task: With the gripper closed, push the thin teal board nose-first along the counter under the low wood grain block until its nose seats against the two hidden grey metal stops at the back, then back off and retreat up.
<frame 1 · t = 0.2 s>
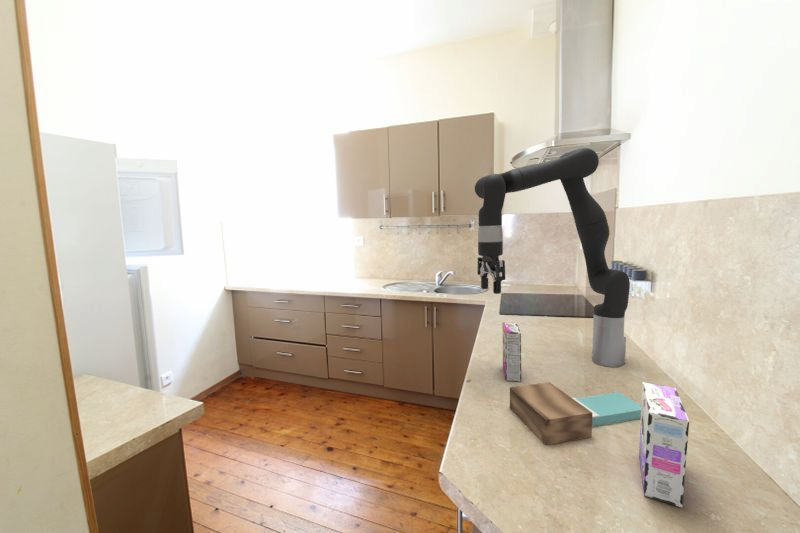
hand: (490, 291, 108), 29 cm above the countertop, fingers open, 8 cm apart
thin teal board: (605, 414, 89), on the countertop
candy bar box: (511, 374, 113), on the countertop
candy box: (658, 478, 66), on the countertop
wood grain block: (551, 420, 86), on the countertop
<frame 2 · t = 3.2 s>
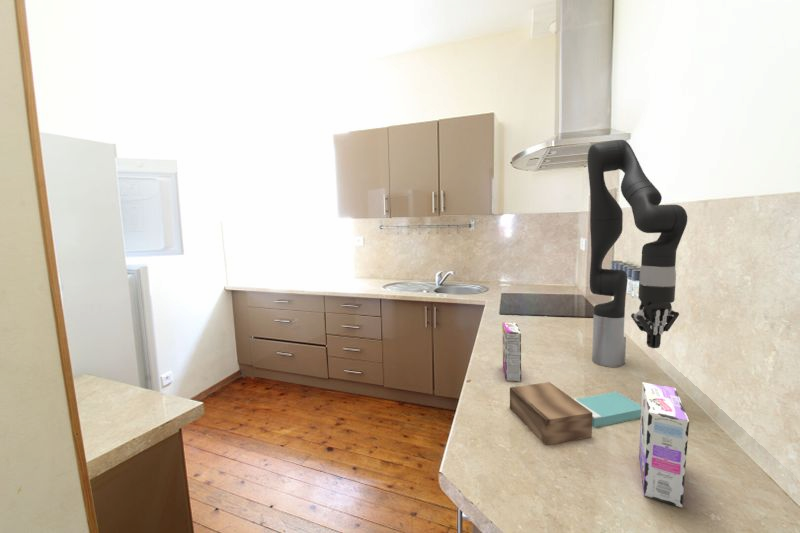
hand: (653, 347, 89), 16 cm above the countertop, fingers closed
nothing on the countertop moved.
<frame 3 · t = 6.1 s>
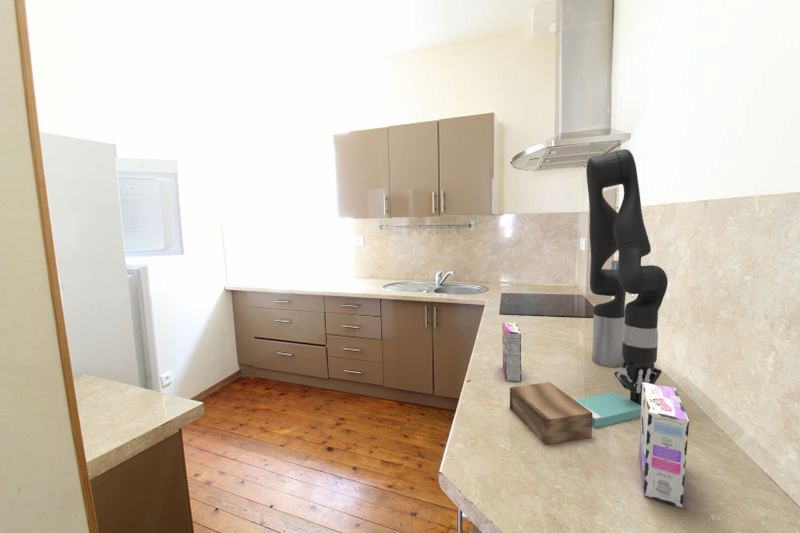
hand: (636, 404, 90), 1 cm above the countertop, fingers closed
thin teal board: (604, 414, 89), on the countertop, touching gripper
everything else where it was.
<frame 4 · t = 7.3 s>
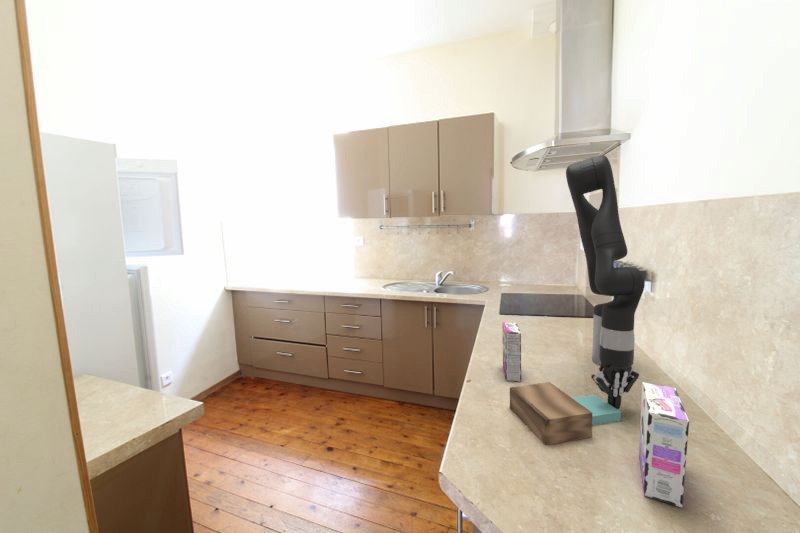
hand: (613, 407, 89), 1 cm above the countertop, fingers closed
thin teal board: (580, 416, 88), on the countertop, touching gripper
everything else where it was.
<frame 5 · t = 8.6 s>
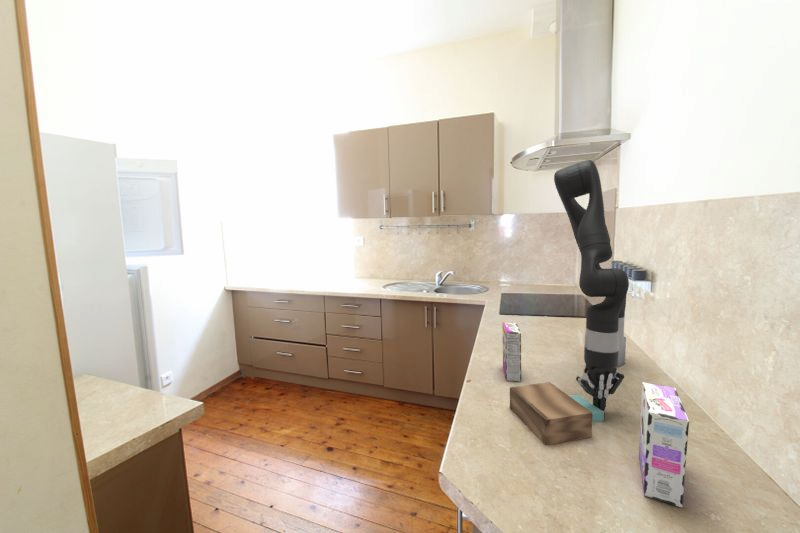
hand: (599, 409, 88), 1 cm above the countertop, fingers closed
thin teal board: (563, 417, 88), on the countertop, touching gripper
everything else where it was.
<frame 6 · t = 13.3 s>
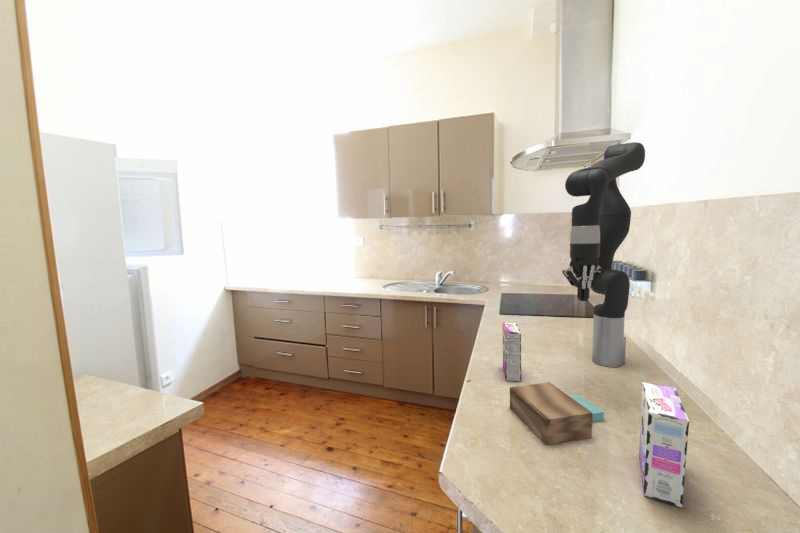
hand: (583, 300, 99), 27 cm above the countertop, fingers closed
thin teal board: (563, 417, 88), on the countertop
everything else where it was.
at the end: thin teal board 1.6 cm from the target spot on the wood grain block, point -0.5 cm above the wood grain block's base; thin teal board tilted 0°; thin teal board moved 11.5 cm from its start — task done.
